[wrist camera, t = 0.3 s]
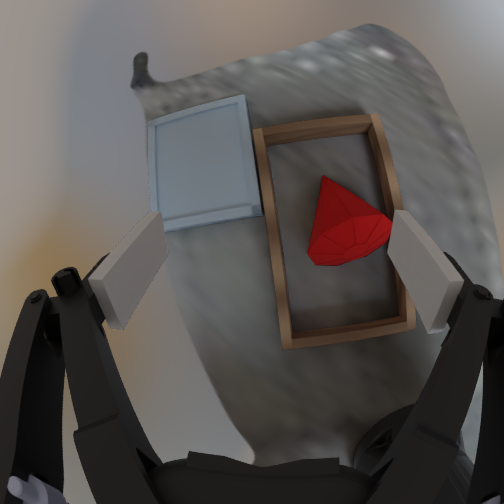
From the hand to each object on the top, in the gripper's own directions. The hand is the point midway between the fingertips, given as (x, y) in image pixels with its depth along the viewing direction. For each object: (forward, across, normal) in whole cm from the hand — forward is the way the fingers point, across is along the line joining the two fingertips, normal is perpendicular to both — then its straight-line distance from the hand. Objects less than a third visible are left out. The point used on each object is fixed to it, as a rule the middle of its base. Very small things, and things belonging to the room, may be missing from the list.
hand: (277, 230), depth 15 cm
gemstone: (+14, -6, +6) cm, 17 cm away
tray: (+19, +9, 0) cm, 21 cm away
